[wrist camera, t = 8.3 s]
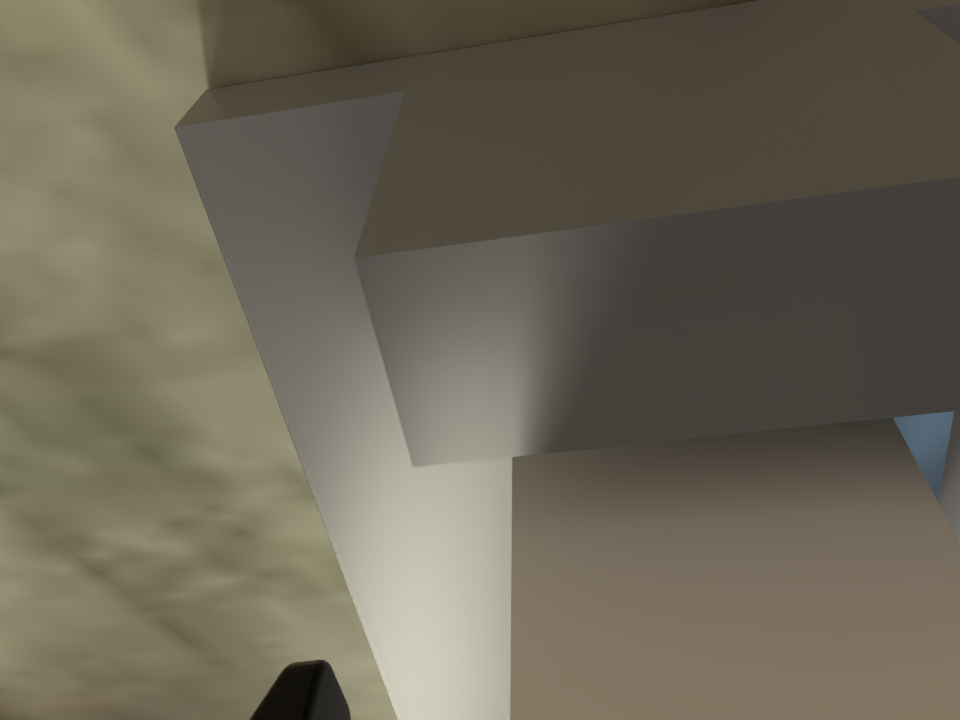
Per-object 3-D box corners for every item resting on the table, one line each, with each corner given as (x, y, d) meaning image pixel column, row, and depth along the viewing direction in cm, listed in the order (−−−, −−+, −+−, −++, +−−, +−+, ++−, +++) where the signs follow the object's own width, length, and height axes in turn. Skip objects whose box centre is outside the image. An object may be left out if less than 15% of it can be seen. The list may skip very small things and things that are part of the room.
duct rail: (931, 806, 19) (1044, 1105, 15) (463, 830, 20) (449, 1111, 16) (1127, -60, 9) (1607, 114, 5) (206, 89, 10) (8, 323, 6)
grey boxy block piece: (809, 509, 12) (1132, 1381, 6) (550, 533, 13) (584, 1368, 6) (822, 286, 10) (1336, 1246, 4) (513, 324, 11) (507, 1243, 4)
